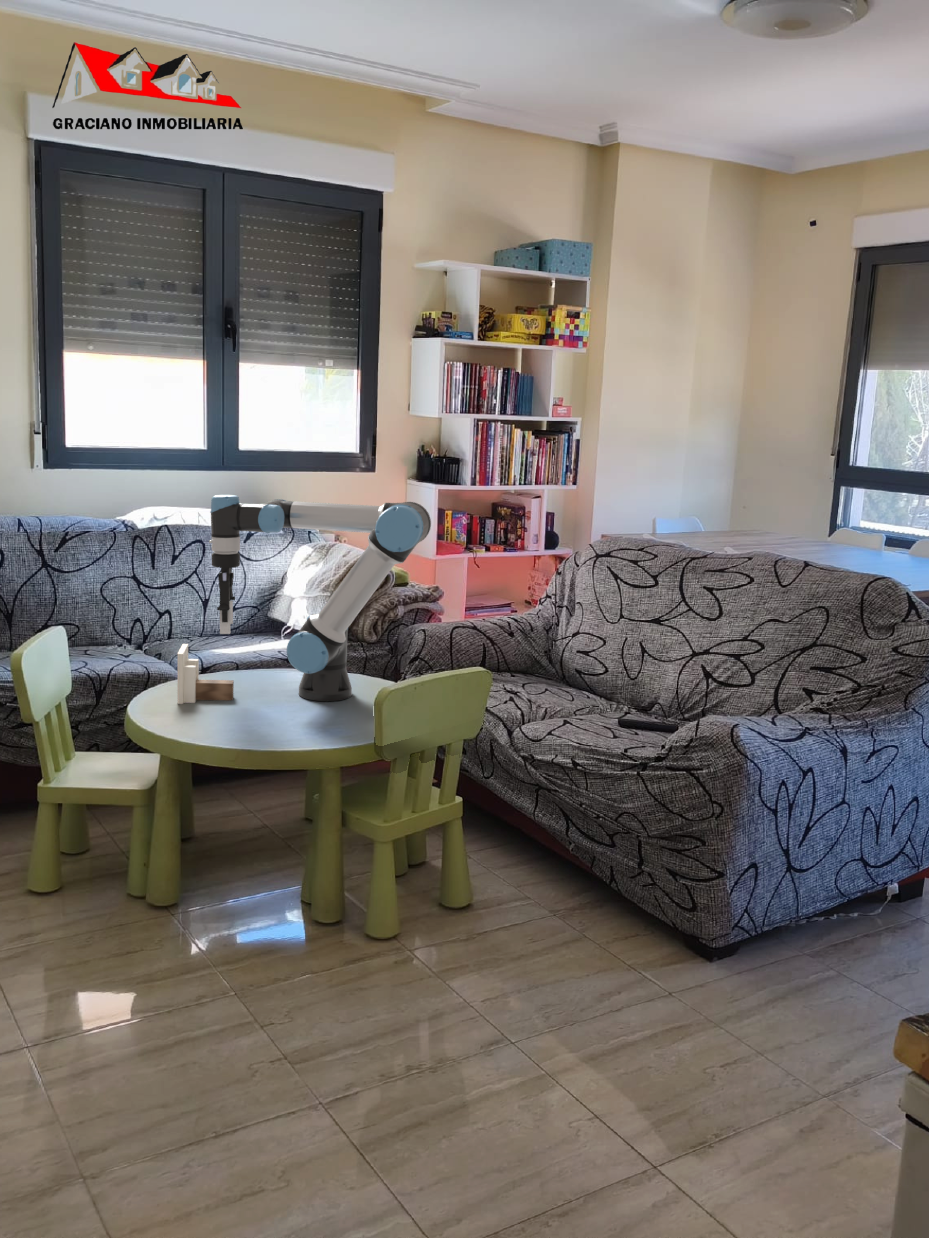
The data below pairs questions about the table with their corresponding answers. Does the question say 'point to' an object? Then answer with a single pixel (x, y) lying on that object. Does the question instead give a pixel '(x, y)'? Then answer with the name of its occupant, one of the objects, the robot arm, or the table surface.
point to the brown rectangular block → (214, 689)
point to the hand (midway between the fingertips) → (226, 628)
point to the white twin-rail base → (187, 676)
